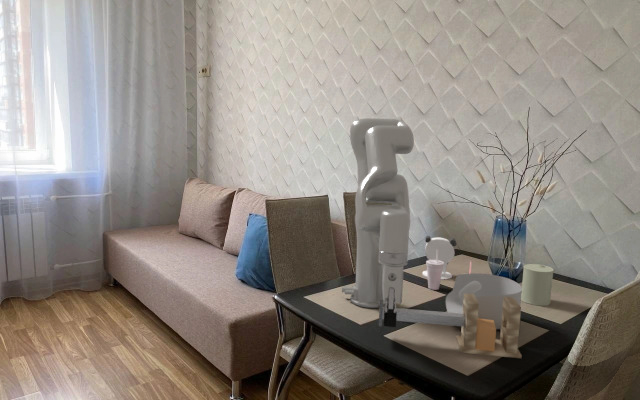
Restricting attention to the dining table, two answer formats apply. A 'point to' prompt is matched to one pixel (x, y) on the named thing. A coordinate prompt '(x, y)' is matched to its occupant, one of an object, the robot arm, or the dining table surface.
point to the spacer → (485, 335)
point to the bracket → (507, 335)
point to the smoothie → (434, 272)
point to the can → (537, 284)
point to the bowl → (483, 294)
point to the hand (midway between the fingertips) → (389, 323)
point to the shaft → (425, 316)
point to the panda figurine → (440, 253)
